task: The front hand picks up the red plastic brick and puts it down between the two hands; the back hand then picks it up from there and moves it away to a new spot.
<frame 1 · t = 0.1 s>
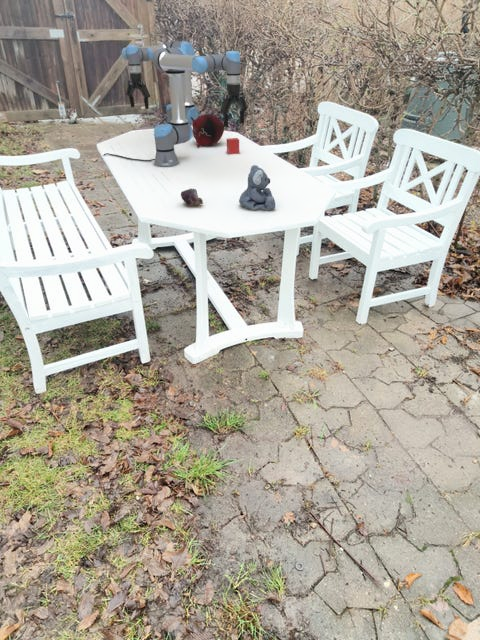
front hand: (234, 125, 259), 28 cm above the table, tool pointing down, fingers open, 13 cm apart
back hand: (139, 107, 308), 28 cm above the table, tool pointing down, fingers open, 13 cm apart
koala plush: (256, 206, 229), on the table
rock: (191, 204, 231), on the table
dark red rounded piece: (208, 144, 337), on the table
brick: (233, 152, 316), on the table
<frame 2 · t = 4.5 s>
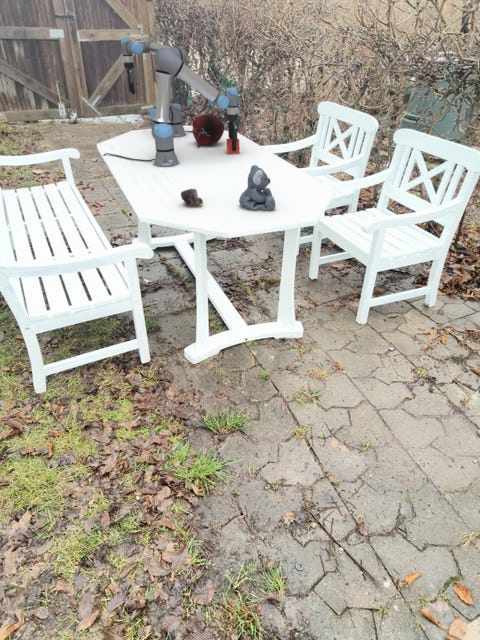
front hand: (233, 149, 315), 2 cm above the table, tool pointing down, fingers closed on brick, 5 cm apart
back hand: (132, 92, 357), 29 cm above the table, tool pointing down, fingers open, 13 cm apart
brick: (233, 152, 316), on the table, touching front hand
everything else where it was.
when the front hand's fingers open (4 cm above the table, at t = 19.5 s): brick drops 1 cm, on the table.
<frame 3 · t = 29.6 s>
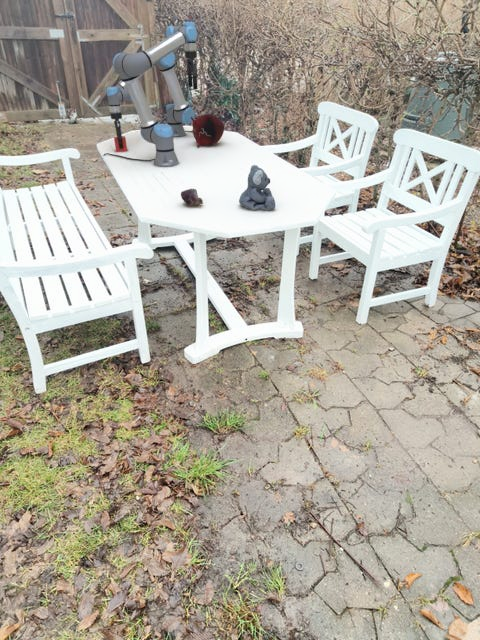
front hand: (192, 88, 298), 40 cm above the table, tool pointing down, fingers open, 13 cm apart
back hand: (121, 147, 322), 2 cm above the table, tool pointing down, fingers closed on brick, 5 cm apart
brick: (121, 150, 323), on the table, touching back hand
everything else where it was.
when the back hand's fingers open (4 cm above the table, at t = 34.5 s): brick drops 1 cm, on the table.
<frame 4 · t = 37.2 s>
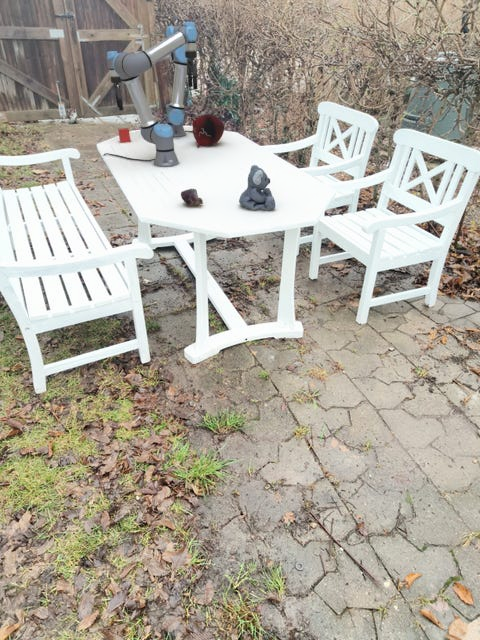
front hand: (192, 88, 298), 40 cm above the table, tool pointing down, fingers open, 13 cm apart
back hand: (120, 108, 333), 23 cm above the table, tool pointing down, fingers open, 13 cm apart
brick: (125, 141, 346), on the table
everything else where it was.
at the end: brick inside the target area (0.1 cm from its centre), on the table; brick tilted 0°; the two hands never held the brick at the same time; the front hand is holding nothing; the back hand is holding nothing; brick at rest at the end (0.0 cm/s) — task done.
